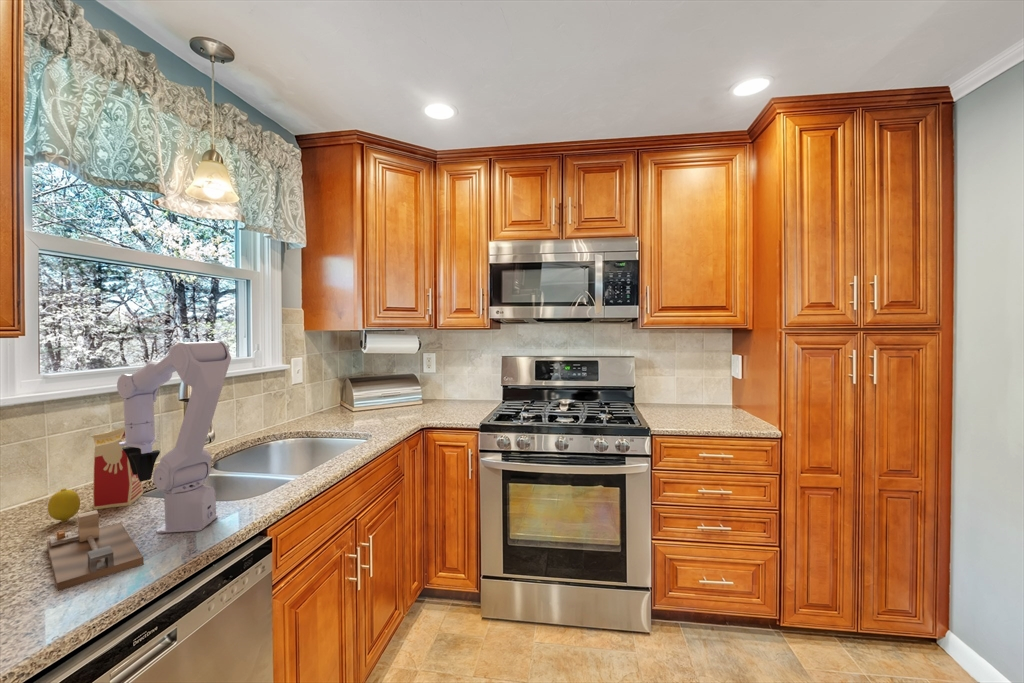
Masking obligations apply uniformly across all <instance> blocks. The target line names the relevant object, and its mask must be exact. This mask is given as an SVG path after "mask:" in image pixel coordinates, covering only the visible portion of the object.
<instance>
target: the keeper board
mask: <svg viewBox="0 0 1024 683" xmlns="http://www.w3.org/2000/svg"><path fill="white" fill-rule="evenodd" d="M75 535H78V533H74V534H72V536H75ZM63 538H67V535H66V530H65V529H59V530H57V531H56V538H54V539H55V541H56V540H59V539H63ZM94 540H95V542H96V545H97V547H98V549H96V550H92V549H91V547H90V544H89V542H88V540H87V541H83V542H80V541H79V539H77V540H73V541H69V542H65V543H61V544H57V545H54V546H51V543H50V539H49V540H47V541H46V550H47V553H48V557H49V562H50V566H51V570H52V574H53V578H54V583H55V587H56V591H57V592H60V591H63V590H67V589H71V588H73V587H77V586H79V585H82V584H86V583H88V582H92V581H95V580H98V579H102V578H105V577H108V576H112V575H115V574H117V573H121V572H124V571H128V570H130V569H133V568H137V567H140V566H143V565H145V562H144V555H143V554H142V552H141V550H140V549H139V547H138V546H137V545H136V542H134V540H133V539H132V537H131V535H130V534H129V532H128V531H127V529H126V528H125V527H124V525H123V523H122V522H117V523H114V524H110V525H106V526H102V527H99V537H98V538H94Z"/></svg>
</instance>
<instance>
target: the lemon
mask: <svg viewBox="0 0 1024 683" xmlns="http://www.w3.org/2000/svg"><path fill="white" fill-rule="evenodd" d="M80 508H81V498H80V496H79V494H78V493H77V492H76V491H75V490H72V489H66V488H62V489H60V490H59V491H56V492H55V493H53V495H52V496H51V497H50V499H49V500H48V504H47V513H48V514H49V516H50V517H51V518H52V519H54V520H56V521H60V522H63V523H65V522H68V521H69V519H71V518H72V517H74V516H75V515H76V514H77V513H79V509H80Z"/></svg>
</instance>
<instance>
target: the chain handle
mask: <svg viewBox="0 0 1024 683" xmlns="http://www.w3.org/2000/svg"><path fill="white" fill-rule="evenodd" d="M99 516H100V515H99V512H98V509H95V510H90V511H87V512H81V513H78V514H77V528H78V529H77V532H78V535H75V536H72V535H73V534H72V532H71V531H70V532H66V536H67V538H63V539H59V540H56V541H55V539H56V538H55V536H50V537H49V540H50V543H51V546H54V545H57V544H61V543H65V542H69V541H73V540H77V539H79V541H80V542H83V541H87V540H88V542H89V544H90V547H91V549H92V550H96V549H98V547H97V545H96V542H95V540H94V538H98V537H99V528H100V522H99V519H100V518H99Z"/></svg>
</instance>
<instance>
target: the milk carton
mask: <svg viewBox="0 0 1024 683" xmlns="http://www.w3.org/2000/svg"><path fill="white" fill-rule="evenodd" d="M90 437H91V438H93V444H94V457H93V477H92V478H93V486H92V487H93V488H92V489H93V491H92V495H93V496H92V498H93V499H92V503H93V505H92V506H93V510H92V511H94V510H101V509H108V508H117V507H126V506H127V507H128V506H130V505H132V504H133V503H134V502H135V501H136V500H138V499H139V498H140V497H141V496H142V495H143V494H144V490H143V488H144V487H143V481H142V482H140V481H139V479H138V475H137V474H136V475H133V473H132V470H131V467H130V463H129V460H128V457H127V455H126V453H125V452H124V451H123V449H122V448H123V447H128V446H119V443H120V442H125V426H122V427H119V428H117V429H114V430H110V431H107V432H102V433H98V434H97V433H96V434H93V435H90Z"/></svg>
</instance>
